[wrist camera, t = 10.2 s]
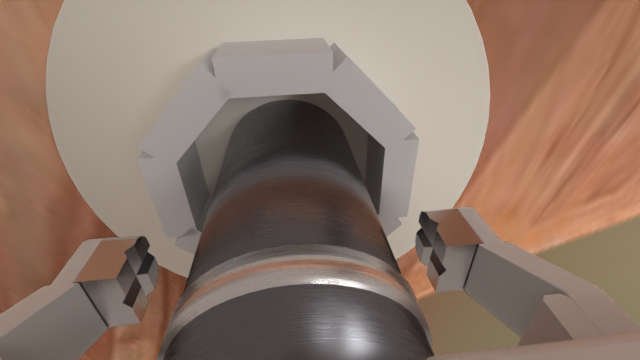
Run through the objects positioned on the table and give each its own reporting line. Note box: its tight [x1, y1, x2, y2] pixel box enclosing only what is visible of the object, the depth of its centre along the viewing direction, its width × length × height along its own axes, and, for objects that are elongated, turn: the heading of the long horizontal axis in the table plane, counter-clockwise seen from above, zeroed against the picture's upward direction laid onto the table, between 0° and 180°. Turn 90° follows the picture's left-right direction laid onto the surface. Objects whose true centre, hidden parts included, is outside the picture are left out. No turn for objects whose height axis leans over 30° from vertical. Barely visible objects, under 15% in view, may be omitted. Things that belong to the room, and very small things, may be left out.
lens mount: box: [45, 0, 490, 278], centre depth 13 cm, size 18×18×4 cm
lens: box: [157, 100, 434, 360], centre depth 10 cm, size 5×5×10 cm
